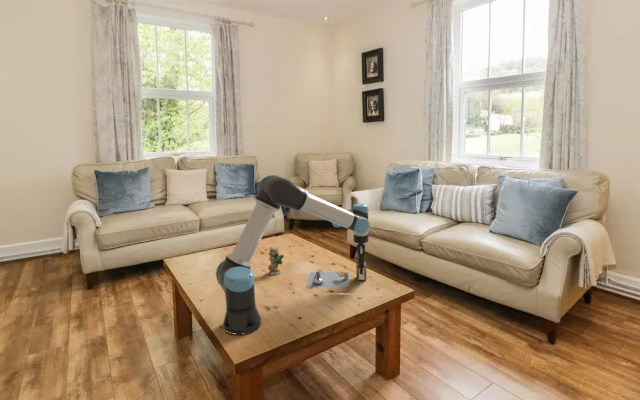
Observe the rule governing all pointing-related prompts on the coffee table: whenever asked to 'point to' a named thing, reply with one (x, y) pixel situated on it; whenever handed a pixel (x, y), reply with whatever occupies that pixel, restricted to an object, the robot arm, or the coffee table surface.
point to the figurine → (274, 261)
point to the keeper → (343, 275)
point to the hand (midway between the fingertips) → (361, 277)
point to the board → (328, 280)
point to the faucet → (320, 281)
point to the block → (358, 270)
